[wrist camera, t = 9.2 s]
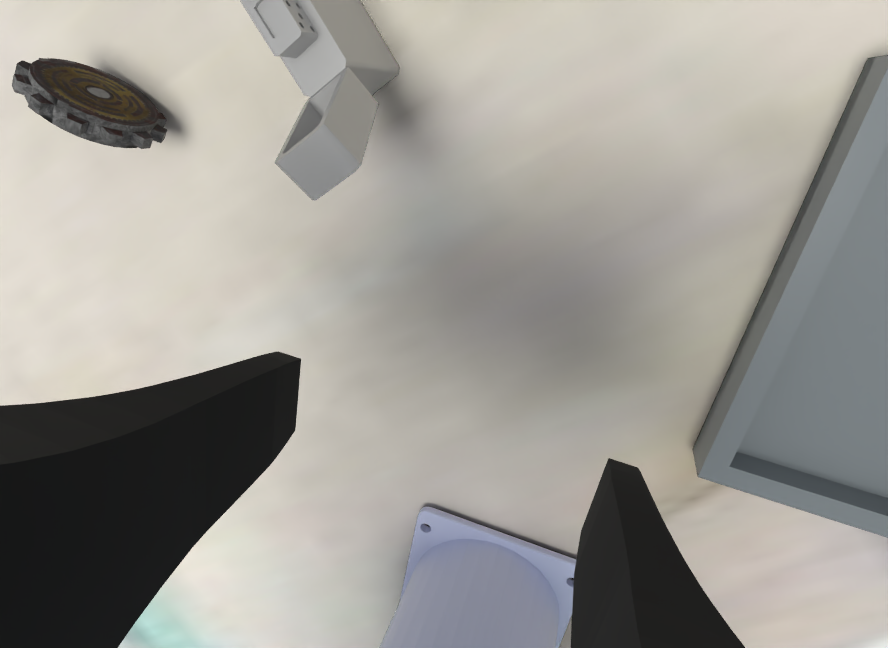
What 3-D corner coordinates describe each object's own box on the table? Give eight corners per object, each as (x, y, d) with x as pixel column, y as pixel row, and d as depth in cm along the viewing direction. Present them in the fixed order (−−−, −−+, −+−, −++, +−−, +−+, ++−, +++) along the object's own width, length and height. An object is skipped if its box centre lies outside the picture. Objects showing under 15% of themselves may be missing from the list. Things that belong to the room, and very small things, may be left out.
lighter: (302, -5, 20) (125, -60, 13) (337, -39, 19) (170, -116, 12) (408, 170, 21) (299, 207, 14) (445, 145, 21) (350, 170, 14)
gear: (95, 77, 24) (-27, 72, 19) (100, 56, 23) (-23, 47, 19) (188, 148, 24) (88, 160, 19) (196, 129, 23) (95, 136, 19)
